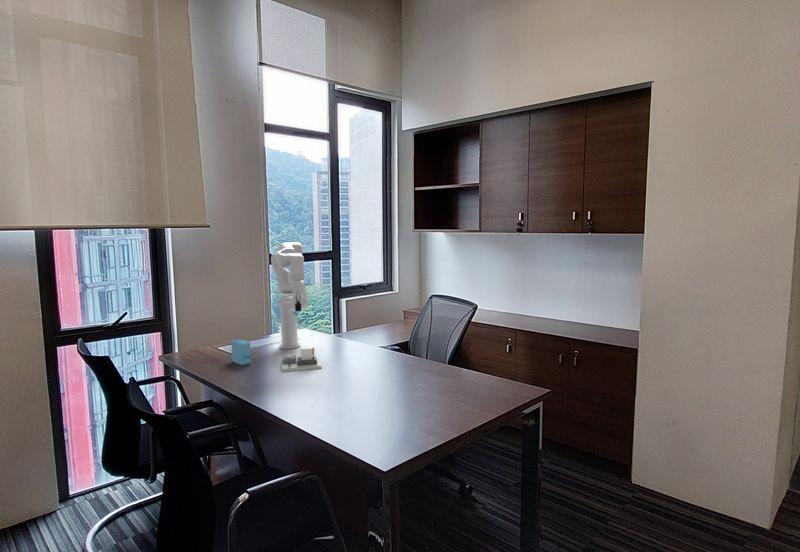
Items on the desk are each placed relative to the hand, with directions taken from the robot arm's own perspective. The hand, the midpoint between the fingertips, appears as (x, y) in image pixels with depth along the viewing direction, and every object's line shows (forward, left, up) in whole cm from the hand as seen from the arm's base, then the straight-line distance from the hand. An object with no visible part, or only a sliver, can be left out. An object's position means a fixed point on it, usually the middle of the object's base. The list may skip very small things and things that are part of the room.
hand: (298, 310), depth 262 cm
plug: (+14, +3, -26) cm, 29 cm away
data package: (-2, -31, -27) cm, 41 cm away
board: (+13, 0, -27) cm, 30 cm away
